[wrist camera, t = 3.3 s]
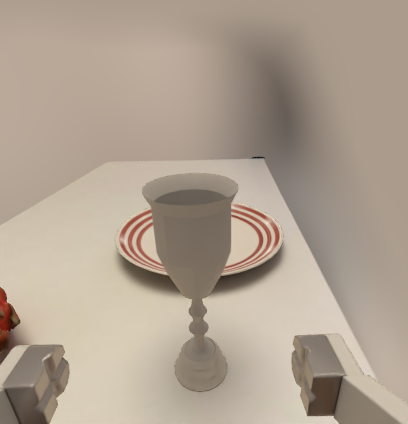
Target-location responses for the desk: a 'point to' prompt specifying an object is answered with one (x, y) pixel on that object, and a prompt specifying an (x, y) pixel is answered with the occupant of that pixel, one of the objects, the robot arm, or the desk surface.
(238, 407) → the desk surface
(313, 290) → the desk surface
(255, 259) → the dinner plate
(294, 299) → the desk surface
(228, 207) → the chalice
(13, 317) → the dragon fruit
